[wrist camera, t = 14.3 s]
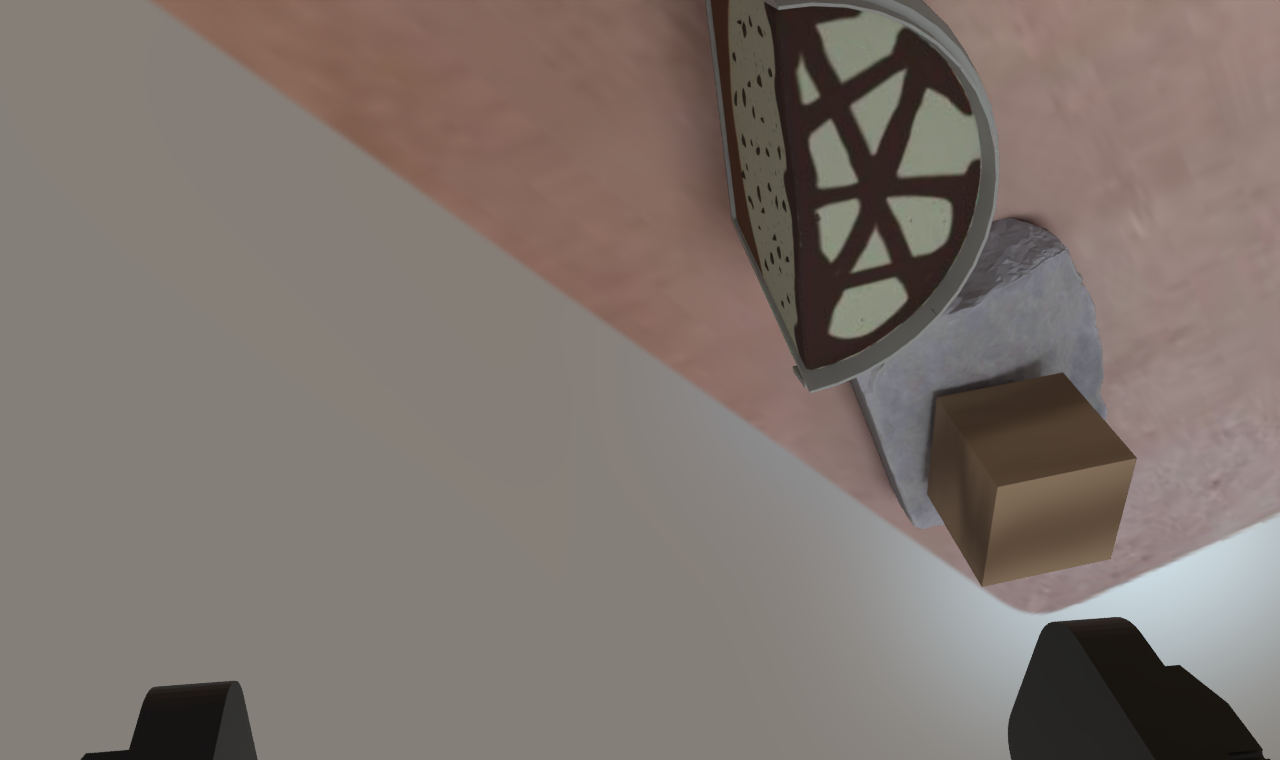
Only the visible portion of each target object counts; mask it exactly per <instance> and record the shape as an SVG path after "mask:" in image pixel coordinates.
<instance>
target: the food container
mask: <svg viewBox="0 0 1280 760" xmlns="http://www.w3.org/2000/svg"><path fill="white" fill-rule="evenodd" d="M705 2H706V10H707V19H708V27H709V35H710V43H711V52H712V60H713V68H714V77H715V85H716V93H717V101H718V110H719V118H720V126H721V134H722V143H723V151H724V159H725V167H726V176H727V184H728V192H729V201H730V209H731V217H732V222H733V225H734V227H735V229H736V231H737V234H738V236H739V238H740V240H741V242H742V245H743V247H744V249H745V251H746V253H747V256H748V258H749V260H750V262H751V265H752V267H753V269H754V271H755V273H756V276H757V278H758V280H759V282H760V284H761V287H762V289H763V291H764V293H765V295H766V298H767V300H768V302H769V304H770V307H771V309H772V311H773V313H774V315H775V318H776V320H777V322H778V324H779V326H780V329H781V331H782V333H783V335H784V338H785V340H786V342H787V344H788V346H789V349H790V351H791V353H792V355H793V357H794V360H795V362H796V364H797V365H796V366H793V372H794V373H795V374H796V376H797V377H798V379H799V380H800V382H801V383H802V385H803V386H804V388H808V390H809V391H810V393H813V392H817V391H820V390H824V389H827V388H831V387H834V386H837V385H840V384H842V383H844V382H847V381H849V380H852V379H854V378H856V377H859V376H861V375H863V374H866V373H867V372H869V371H871V370H872V369H874V368H876V367H878V366H879V365H881V364H883V363H885V362H886V361H888V360H890V359H891V358H893V357H894V356H896V355H897V354H898V353H900V352H901V351H902V350H904V349H905V348H906V347H908V346H909V345H910V344H912V343H913V342H914V341H916V340H917V339H918V338H919V337H920V336H921V335H922V334H923V333H924V332H925V331H926V330H927V329H928V328H929V327H930V326H931V325H932V324H933V323H934V322H936V321H937V320H938V319H939V318H940V316H941V315H942V314H943V313H944V311H945V310H946V309H947V308H948V306H949V305H950V304H951V303H952V301H953V300H954V299H955V298H956V296H957V295H958V294H959V293H960V291H961V289H962V288H963V286H964V284H965V283H966V281H967V279H968V278H969V276H970V275H971V273H972V271H973V270H974V268H975V266H976V264H977V262H978V259H979V257H980V255H981V252H982V250H983V248H984V245H985V243H986V241H987V239H988V235H989V232H990V228H991V224H992V221H993V217H994V213H995V210H996V202H997V193H998V185H999V149H998V134H997V130H996V125H995V121H994V116H993V112H992V107H991V104H990V101H989V99H988V97H987V94H986V92H985V90H984V87H983V85H982V83H981V80H980V78H979V76H978V74H977V72H976V70H975V68H974V66H973V64H972V62H971V60H970V58H969V57H968V55H967V53H966V51H965V50H964V48H963V47H962V45H961V44H960V42H959V41H958V39H957V38H956V37H955V35H954V34H953V32H952V31H951V29H950V28H949V26H948V25H947V24H946V23H945V22H944V21H943V20H942V19H941V18H940V17H939V16H938V15H937V14H936V13H935V12H934V11H933V10H932V9H931V8H930V7H929V6H928V5H927V4H926V3H925V2H923V1H922V0H705Z"/></svg>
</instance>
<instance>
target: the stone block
mask: <svg viewBox="0 0 1280 760" xmlns="http://www.w3.org/2000/svg"><path fill="white" fill-rule="evenodd" d="M1082 280H1083V278H1082V277H1081V275H1080V274H1079V273H1078V272H1077V271H1076V269H1075V266H1074V264H1073V262H1072V259H1071V256H1070V253H1069V251H1068V249H1067V247H1064V245H1063V244H1062V243H1061V241H1060V240H1059V239H1058V238H1057V237H1056V236H1054V235H1053V234H1052V233H1050V232H1049V231H1048V230H1047V229H1044V228H1040V227H1037V226H1035V225H1033V224H1030V223H1029V222H1023V221H1019V220H1017V219H1014V218H1007V219H1002V220H997V221H995V222H992V224H991V228H990V232H989V235H988V239H987V241H986V243H985V245H984V248H983V250H982V252H981V255H980V257H979V259H978V262H977V264H976V266H975V268H974V270H973V271H972V273H971V275H970V276H969V278H968V279H967V281H966V283H965V284H964V286H963V288H962V289H961V291H960V293H959V294H958V295H957V296H956V298H955V299H954V300H953V301H952V303H951V304H950V305H949V306H948V308H947V309H946V310H945V311H944V313H943V314H942V315H941V316H940V318H939V319H938V320H937V321H936V322H934V323H933V324H932V325H931V326H930V327H929V328H928V329H927V330H926V331H925V332H924V333H923V334H922V335H921V336H920V337H919V338H918V339H917V340H916V341H914V342H913V343H912V344H910V345H909V346H908V347H906V348H905V349H904V350H902V351H901V352H900V353H898V354H897V355H896V356H894V357H893V358H891V359H890V360H888V361H886V362H885V363H883V364H881V365H879V366H878V367H876V368H874V369H872V370H871V371H869V372H867V373H866V374H863V375H861V376H859V377H856V378H854V379H852V380H850V382H851V384H852V387H853V389H854V392H855V394H856V397H857V399H858V402H859V405H860V407H861V410H862V412H863V414H864V417H865V419H866V422H867V425H868V427H869V429H870V432H871V434H872V436H873V439H874V442H875V444H876V447H877V449H878V452H879V454H880V457H881V460H882V463H883V465H884V467H885V470H886V473H887V476H888V478H889V481H890V484H891V486H892V488H893V491H894V493H895V495H896V497H897V499H898V501H899V503H900V505H901V507H902V508H903V509H904V511H905V513H906V515H907V516H908V518H909V519H910V521H911V523H912V524H913V526H915V527H917V528H919V529H926V528H929V527H932V526H936V525H944V522H943V521H942V519H941V517H940V516H939V514H938V512H937V511H936V509H935V507H934V506H933V504H932V502H931V500H930V499H929V497H928V495H927V488H928V478H929V469H930V459H931V449H932V439H933V430H934V420H935V410H936V400H937V397H941V396H946V395H951V394H956V393H961V392H966V391H972V390H977V389H982V388H987V387H992V386H997V385H1002V384H1007V383H1012V382H1017V381H1022V380H1027V379H1032V378H1037V377H1042V376H1047V375H1052V374H1057V373H1062V372H1063V373H1064V374H1065V375H1066V376H1067V377H1068V379H1069V380H1070V381H1071V382H1072V383H1073V384H1074V386H1075V387H1076V388H1077V389H1078V390H1079V391H1080V393H1081V394H1082V395H1083V396H1084V397H1085V398H1086V400H1087V401H1088V402H1089V403H1090V404H1091V405H1092V407H1093V408H1094V409H1095V410H1096V411H1097V412H1098V414H1099V415H1100V416H1101V417H1102V418H1103V419H1104V421H1105V419H1106V417H1107V408H1106V406H1105V404H1104V402H1103V400H1102V398H1101V396H1100V387H1101V384H1102V381H1103V361H1102V347H1101V342H1100V337H1099V331H1098V328H1097V327H1096V316H1095V306H1094V303H1093V301H1092V298H1091V296H1090V294H1089V293H1088V291H1087V289H1086V288H1085V286H1084V285H1083V284H1082V283H1081V282H1082Z"/></svg>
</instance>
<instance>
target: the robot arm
mask: <svg viewBox="0 0 1280 760" xmlns="http://www.w3.org/2000/svg"><path fill="white" fill-rule="evenodd" d="M1008 743H1009V750H1010V755H1011V759H1012V760H1270V759H1265V758H1264V757H1263V754H1262V750H1263V749H1262V748H1261V747H1260V745H1259V744H1258V743H1257V741H1256V740H1255V739H1254V737H1253V736H1252V735H1251V733H1250V732H1249V731H1248V729H1247V728H1246V727H1245V725H1244V724H1243V723H1242V721H1241V720H1240V719H1239V717H1238V716H1237V715H1236V713H1235V712H1234V711H1233V709H1232V708H1231V707H1230V705H1229V704H1228V703H1227V702H1226V701H1224V700H1223V699H1222V698H1220V697H1219V696H1218V695H1217V694H1215V693H1214V692H1213V691H1212V690H1210V689H1209V688H1208V687H1207V686H1205V685H1204V684H1203V683H1202V682H1200V681H1199V680H1198V679H1196V678H1195V677H1194V676H1193V675H1191V674H1190V673H1189V672H1188V671H1187V670H1185V669H1184V668H1183V667H1181V666H1180V665H1175V666H1164V665H1163V663H1162V662H1161V660H1160V659H1159V658H1158V656H1157V655H1156V653H1155V652H1154V651H1153V649H1152V648H1151V646H1150V645H1149V644H1148V642H1147V641H1146V639H1145V638H1144V637H1143V635H1142V634H1141V633H1140V631H1139V630H1138V629H1137V628H1136V627H1135V626H1134V625H1133V624H1132V623H1131V622H1130V621H1128V620H1126V619H1124V618H1121V617H1111V618H1099V619H1085V620H1072V621H1060V622H1051V623H1048V624H1047V625H1046V626H1045V627H1044V628H1043V630H1042V631H1041V634H1040V636H1039V638H1038V641H1037V644H1036V646H1035V649H1034V652H1033V654H1032V657H1031V660H1030V663H1029V665H1028V668H1027V671H1026V674H1025V676H1024V679H1023V682H1022V685H1021V687H1020V690H1019V693H1018V695H1017V698H1016V701H1015V704H1014V706H1013V709H1012V712H1011V715H1010V719H1009V725H1008ZM81 760H257V755H256V750H255V746H254V742H253V737H252V732H251V727H250V723H249V719H248V714H247V710H246V705H245V700H244V695H243V692H242V688H241V686H240V684H239V682H238V681H225V682H212V683H199V684H186V685H172V686H159V687H153V688H151V689H150V690H149V692H148V693H147V695H146V697H145V699H144V702H143V705H142V707H141V711H140V714H139V718H138V721H137V724H136V728H135V731H134V735H133V738H132V741H131V745H130V748H129V750H123V751H110V752H99V753H86V754H85V755H84V757H83V758H82V759H81Z"/></svg>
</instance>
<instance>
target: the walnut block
mask: <svg viewBox="0 0 1280 760" xmlns="http://www.w3.org/2000/svg"><path fill="white" fill-rule="evenodd" d="M1136 459H1137V458H1136V457H1135V455H1134V454H1133V453H1132V452H1131V451H1130V450H1129V448H1128V447H1127V446H1126V445H1125V444H1124V443H1123V441H1122V440H1121V439H1120V438H1119V437H1118V436H1117V434H1116V433H1115V432H1114V431H1113V430H1112V429H1111V428H1110V426H1109V425H1108V424H1107V423H1106V422H1105V421H1104V419H1103V418H1102V417H1101V416H1100V415H1099V414H1098V412H1097V411H1096V410H1095V409H1094V408H1093V407H1092V405H1091V404H1090V403H1089V402H1088V401H1087V400H1086V398H1085V397H1084V396H1083V395H1082V394H1081V393H1080V391H1079V390H1078V389H1077V388H1076V387H1075V386H1074V384H1073V383H1072V382H1071V381H1070V380H1069V379H1068V377H1067V376H1066V375H1065V374H1064V373H1063V372H1062V373H1057V374H1052V375H1047V376H1042V377H1037V378H1032V379H1027V380H1022V381H1017V382H1012V383H1007V384H1002V385H997V386H992V387H987V388H982V389H977V390H972V391H966V392H961V393H956V394H951V395H946V396H941V397H937V400H936V410H935V420H934V430H933V439H932V449H931V459H930V469H929V478H928V488H927V495H928V497H929V499H930V500H931V502H932V504H933V506H934V507H935V509H936V511H937V512H938V514H939V516H940V517H941V519H942V521H943V522H944V524H945V526H946V527H947V529H948V531H949V532H950V534H951V536H952V537H953V539H954V541H955V542H956V544H957V546H958V547H959V549H960V551H961V552H962V554H963V556H964V558H965V559H966V561H967V563H968V564H969V566H970V568H971V569H972V571H973V573H974V574H975V576H976V578H977V579H978V581H979V583H980V584H981V586H982V587H983V586H988V585H993V584H997V583H1002V582H1006V581H1011V580H1016V579H1020V578H1025V577H1029V576H1034V575H1039V574H1043V573H1048V572H1053V571H1057V570H1062V569H1066V568H1071V567H1076V566H1080V565H1085V564H1089V563H1094V562H1099V561H1103V560H1108V559H1111V555H1112V551H1113V547H1114V544H1115V540H1116V536H1117V532H1118V528H1119V524H1120V521H1121V517H1122V513H1123V509H1124V505H1125V502H1126V498H1127V494H1128V490H1129V486H1130V482H1131V479H1132V475H1133V471H1134V467H1135V463H1136Z"/></svg>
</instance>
